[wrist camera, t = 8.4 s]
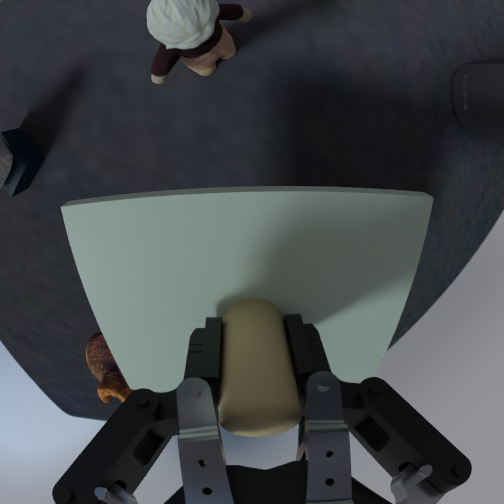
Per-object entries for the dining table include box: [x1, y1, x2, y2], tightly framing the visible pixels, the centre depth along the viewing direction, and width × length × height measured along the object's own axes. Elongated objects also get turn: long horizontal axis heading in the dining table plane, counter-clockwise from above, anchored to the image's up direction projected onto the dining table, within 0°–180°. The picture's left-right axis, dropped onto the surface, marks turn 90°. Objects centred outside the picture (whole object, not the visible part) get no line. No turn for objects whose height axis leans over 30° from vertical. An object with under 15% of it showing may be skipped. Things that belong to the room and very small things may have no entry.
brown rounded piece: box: [86, 333, 134, 403], centre depth 31 cm, size 12×12×7 cm
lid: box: [61, 186, 433, 437], centre depth 11 cm, size 17×13×6 cm
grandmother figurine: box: [147, 0, 252, 84], centre depth 13 cm, size 8×4×13 cm, turn 140°
